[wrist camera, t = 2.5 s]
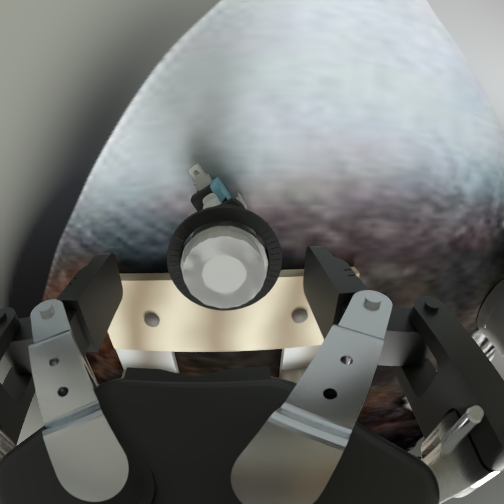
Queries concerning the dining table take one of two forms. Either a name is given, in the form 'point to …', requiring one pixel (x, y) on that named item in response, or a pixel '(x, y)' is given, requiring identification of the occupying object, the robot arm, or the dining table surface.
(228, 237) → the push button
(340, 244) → the dining table surface
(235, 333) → the hinge plate
